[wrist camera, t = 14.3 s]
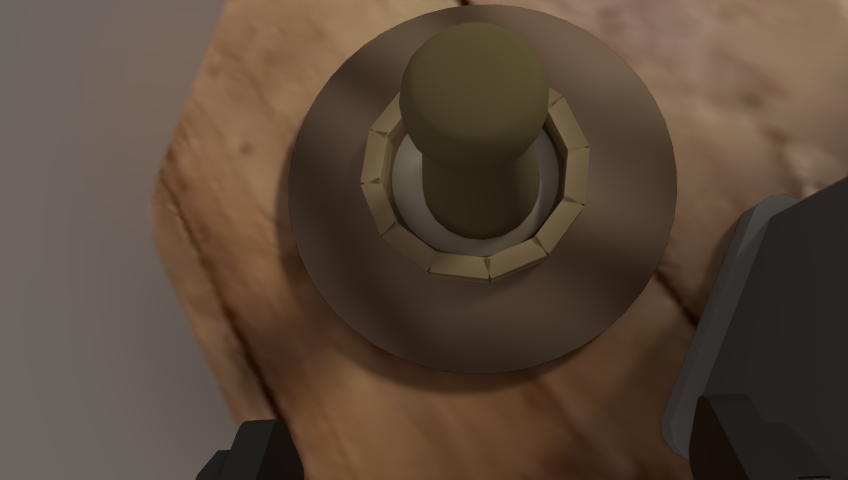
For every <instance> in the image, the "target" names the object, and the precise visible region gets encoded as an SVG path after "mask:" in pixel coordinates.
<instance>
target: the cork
mask: <svg viewBox="0 0 848 480" xmlns="http://www.w3.org/2000/svg"><path fill="white" fill-rule="evenodd" d="M548 102H549V85H548V81H547V78H546V74H545V71H544V67H543V64H542V61H541V59H540V58H539V57H538V55H537V54H536V52H535V51H534V50H533V48H532V47H531V45H530V44H529V43H528V42H527V41H525V40H524V39H522V38H521V37H520V36H518V35H517V34H515V33H514V32H513V31H511V30H509V29H506V28H503V27H500V26H497V25H494V24H491V23H481V22H466V23H462V24H459V25H455V26H451V27H447V28H446V29H444V30H442V31H441V32H439V33H437V34H435V35H434V36H432V37H430V38H429V39H428V40H426V41H425V42H424V43H423V45H422V46H421V47H420V48H419V49H418V50H417V51H416V52H415V53H414V54H413V55H412V56H411V59H410V61H409V63H408V65H407V67H406V69H405V71H404V73H403V75H402V82H401V89H400V97H399V108H400V112H401V117H402V122H403V125H404V128H405V130H406V132H407V134H408V135H409V137H410V139H411V140H412V142H413V143H414V145H415V147H416V148H417V150H419V151H420V152H421V153H422V188H423V193H424V198H425V202H426V205H427V207H428V209H429V210H430V212H431V214H432V215H433V217H434V219H435V220H436V221H437V222H438V223H440V224H441V225H442V226H443V227H444V228H445V229H447V230H448V231H449V232H452V233H454V234H456V235H459V236H461V237H464V238H468V239H480V240H486V239H491V238H495V237H500V236H503V235H505V234H507V233H509V232H510V231H512V230H514V229H515V228H517V227H519V226H520V225H521V224H522V223H523V221H524V220H525V219H526V218H527V217H528V216H529V215H530V214H531V213H532V210H533V208H534V206H535V203H536V201H537V199H538V196H539V187H540V174H539V168H538V162H537V156H536V150H535V144H534V141H535V140H536V139H537V138H538V135H539V133H540V131H541V128H542V126H543V124H544V122H545V119H546V116H547V112H548Z"/></svg>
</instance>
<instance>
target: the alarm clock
mask: <svg viewBox="0 0 848 480" xmlns="http://www.w3.org/2000/svg"><path fill="white" fill-rule="evenodd" d="M732 393H744V394H746V395H747V396H749V397H750V399H751V400H752V401H753V403H754V405H755V406H756V408H757V410H758V411H759V413H760V415H761V416H762V418H763V420H764V421H765V423H770V422H784V423H785V424H786V425H787V426H788V427H790V428H791V429H792V430H793V431H794V432H795V433H797V434H798V435H799V436H800V437H801V438H803V439H804V440H805V441H806V442H807V443H808V444H810V445H811V446H812V447H813V449H814V451H815V452H816V454H817V455H818V457H819V458H820V460H821V461H822V463H823V464H824V466H825V467H826V469H827V470H828V472H829V474H830V475H831V480H848V176H847V177H845V178H843V179H841V180H839V181H837V182H835V183H833V184H832V185H830V186H828V187H826V188H824V189H822V190H820V191H818V192H816V193H814V194H812V195H811V196H809V197H807V198H805V199H803V200H801V199H798V198H795V197H792V196H790V195H787V194H784V195H775V196H770V197H768V198H766V199H765V200H763V201H761V202H760V203H758V204H756V205H755V206H753V207H752V208H750V209H749V210H747V211H746V212H744V213H743V214H742V215H741V218H740V220H739V223H738V226H737V228H736V231H735V233H734V236H733V238H732V241H731V243H730V246H729V248H728V251H727V253H726V256H725V258H724V261H723V263H722V266H721V268H720V271H719V273H718V276H717V278H716V281H715V283H714V286H713V289H712V291H711V294H710V296H709V299H708V301H707V304H706V306H705V309H704V311H703V314H702V316H701V319H700V321H699V324H698V326H697V329H696V331H695V334H694V336H693V339H692V341H691V344H690V346H689V349H688V352H687V354H686V357H685V359H684V362H683V364H682V367H681V369H680V372H679V374H678V377H677V379H676V382H675V384H674V387H673V389H672V392H671V394H670V397H669V399H668V402H667V404H666V407H665V410H664V412H663V415H662V417H661V420H660V423H661V428H662V434H663V439H664V440H665V442H666V443H667V444H668V446H669V447H670V448H671V450H672V451H673V452H674V453H676V454H678V455H680V456H682V457H683V458H685V459H687V460H689V442H690V437H691V432H692V426H693V421H694V415H695V410H696V405H697V400H698V398H699V396H701V395H716V394H732Z"/></svg>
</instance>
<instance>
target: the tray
mask: <svg viewBox="0 0 848 480" xmlns="http://www.w3.org/2000/svg"><path fill="white" fill-rule="evenodd" d="M466 22H481V23H491V24H494V25H497V26H500V27H503V28H506V29H509V30H511V31H513V32H514V33H515V34H517V35H518V36H520V37H521V38H522V39H524V40H525V41H527V42H528V43H529V44H530V45H531V47H532V48H533V50H534V51H535V52H536V54H537V55H538V57H539V58H540V59H541V61H542V64H543V67H544V71H545V74H546V78H547V81H548V85H549V102H548V112H547V116H546V119H545V122H544V124H543V126H542V128H541V131H540V133H539V135H538V138H537V139H536V140H535V141H534V144H535V150H536V156H537V162H538V168H539V174H540V187H539V196H538V199H537V201H536V203H535V206H534V208H533V210H532V213H531V214H530V215H529V216H528V217H527V218H526V219H525V220H524V221H523V223H522V224H521V225H520V226H519V227H517V228H515V229H514V230H512V231H510V232H509V233H507V234H505V235H503V236H500V237H495V238H491V239H486V240H480V239H468V238H464V237H461V236H459V235H456V234H454V233H452V232H449V231H448V230H447V229H445V228H444V227H443V226H442V225H441V224H440V223H438V222H437V221H436V220H435V219H434V217H433V215H432V214H431V212H430V210H429V209H428V207H427V205H426V202H425V198H424V193H423V188H422V153H421V152H420V151H419V150H417V148H416V147H415V145H414V143H413V142H412V140H411V139H410V137H409V135H408V134H407V132H406V130H405V128H404V125H403V122H402V117H401V112H400V108H399V97H400V89H401V82H402V75H403V73H404V71H405V69H406V67H407V65H408V63H409V61H410V59H411V56H412V55H413V54H414V53H415V52H416V51H417V50H418V49H419V48H420V47H421V46H422V45H423V43H424V42H425V41H426V40H428V39H429V38H430V37H432V36H434V35H435V34H437V33H439V32H441V31H442V30H444V29H446V28H447V27H451V26H455V25H459V24H462V23H466ZM676 197H677V176H676V164H675V158H674V152H673V146H672V142H671V139H670V136H669V132H668V129H667V126H666V123H665V120H664V118H663V116H662V114H661V112H660V110H659V108H658V106H657V104H656V101H655V99H654V98H653V96H652V95H651V93H650V92H649V90H648V89H647V87H646V86H645V84H644V83H643V81H642V80H641V78H640V77H639V76H638V75H637V74H636V72H635V71H634V70H633V69H632V68H631V67H630V66H629V64H628V63H627V62H626V61H625V60H624V59H623V58H622V57H621V56H619V55H618V54H617V53H616V52H615V51H614V50H613V49H611V48H610V47H609V46H608V45H607V44H605V43H604V42H602V41H601V40H599V39H598V38H596V37H595V36H593V35H592V34H590V33H589V32H587V31H586V30H584V29H582V28H580V27H578V26H576V25H574V24H572V23H570V22H568V21H566V20H563V19H560V18H558V17H555V16H552V15H549V14H546V13H543V12H539V11H535V10H530V9H526V8H521V7H514V6H504V5H468V6H460V7H453V8H447V9H443V10H439V11H435V12H431V13H427V14H424V15H421V16H418V17H416V18H413V19H410V20H408V21H405V22H403V23H401V24H399V25H397V26H395V27H393V28H391V29H389V30H387V31H385V32H383V33H382V34H380V35H379V36H377V37H376V38H374V39H373V40H371V41H370V42H368V43H367V44H365V45H364V46H363V47H362V48H360V49H359V50H358V51H357V52H356V53H354V54H353V55H352V56H351V57H350V58H349V59H347V60H346V61H345V62H344V63H343V65H342V66H341V67H340V68H339V69H338V70H337V71H336V72H335V73H334V74H333V75H332V76H331V78H330V79H329V80H328V82H327V83H326V84H325V86H324V87H323V89H322V90H321V91H320V93H319V94H318V95H317V97H316V99H315V101H314V102H313V104H312V106H311V108H310V110H309V111H308V113H307V115H306V117H305V120H304V122H303V125H302V127H301V130H300V132H299V135H298V137H297V141H296V145H295V149H294V152H293V156H292V161H291V169H290V176H289V210H290V217H291V225H292V230H293V234H294V237H295V241H296V245H297V248H298V252H299V254H300V256H301V259H302V261H303V263H304V266H305V268H306V270H307V273H308V274H309V276H310V278H311V279H312V281H313V283H314V284H315V286H316V288H317V289H318V291H319V293H320V294H321V295H322V297H323V298H324V299H325V300H326V302H327V303H328V304H329V305H330V307H331V308H332V309H333V310H334V311H335V313H336V314H337V315H338V316H339V317H341V318H342V319H343V320H344V321H345V322H346V323H347V324H348V325H349V326H350V327H351V328H352V329H353V330H354V331H356V332H357V333H359V334H360V335H361V336H363V337H364V338H366V339H367V340H368V341H370V342H371V343H373V344H374V345H376V346H378V347H380V348H381V349H383V350H385V351H387V352H389V353H391V354H393V355H395V356H397V357H399V358H402V359H404V360H407V361H410V362H413V363H416V364H418V365H421V366H424V367H429V368H434V369H438V370H443V371H448V372H458V373H470V374H484V373H502V372H508V371H514V370H519V369H524V368H529V367H533V366H536V365H539V364H542V363H545V362H548V361H551V360H554V359H557V358H559V357H561V356H563V355H565V354H567V353H569V352H571V351H573V350H575V349H577V348H579V347H581V346H583V345H584V344H586V343H587V342H589V341H590V340H592V339H593V338H594V337H596V336H597V335H599V334H600V333H602V332H603V331H605V330H606V329H607V328H608V327H609V326H610V325H611V324H613V323H614V322H615V321H616V320H617V319H618V318H619V317H620V316H621V315H622V314H624V313H625V312H626V310H627V309H628V308H629V307H630V306H631V304H632V303H633V302H634V301H635V300H636V298H637V297H638V296H639V295H640V294H641V292H642V291H643V290H644V288H645V286H646V285H647V283H648V281H649V280H650V278H651V277H652V275H653V273H654V272H655V270H656V268H657V266H658V264H659V262H660V259H661V257H662V255H663V252H664V250H665V248H666V245H667V242H668V239H669V235H670V231H671V228H672V224H673V220H674V214H675V205H676Z"/></svg>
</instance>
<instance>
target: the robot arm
mask: <svg viewBox="0 0 848 480" xmlns="http://www.w3.org/2000/svg"><path fill="white" fill-rule="evenodd" d="M689 461H690V466H691V471H692V474H693V478H694V480H831V475H830V474H829V472H828V470H827V469H826V467H825V466H824V464H823V463H822V461H821V460H820V458H819V457H818V455H817V454H816V452H815V451H814V449H813V447H812V446H811V445H810V444H808V443H807V442H806V441H805V440H804V439H803V438H801V437H800V436H799V435H798V434H797V433H795V432H794V431H793V430H792V429H791V428H790V427H788V426H787V425H786V424H785V423H784V422H770V423H765V421H764V420H763V418H762V416H761V415H760V413H759V411H758V410H757V408H756V406H755V405H754V403H753V401H752V400H751V399H750V397H749V396H747V395H746V394H744V393H732V394H716V395H701V396H699V398H698V400H697V405H696V410H695V415H694V421H693V426H692V432H691V437H690V442H689ZM196 480H304V470H303V465H302V462H301V460H300V457H299V455H298V452H297V450H296V447H295V445H294V443H293V440H292V438H291V435H290V433H289V430H288V428H287V425H286V423H285V422H284V420H282V419H271V420H254V421H245V422H243V423H242V424H241V426H240V428H239V430H238V432H237V434H236V437H235V439H234V442H233V444H232V447H231V449H230V450H219V451H217V452H216V453H215V455H214V456H213V457H212V458H211V459H210V460H209V462H208V463H207V464H206V465H205V466H204V468H203V469H202V470H201V471H200V472H199V474H198V475H197V477H196Z"/></svg>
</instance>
